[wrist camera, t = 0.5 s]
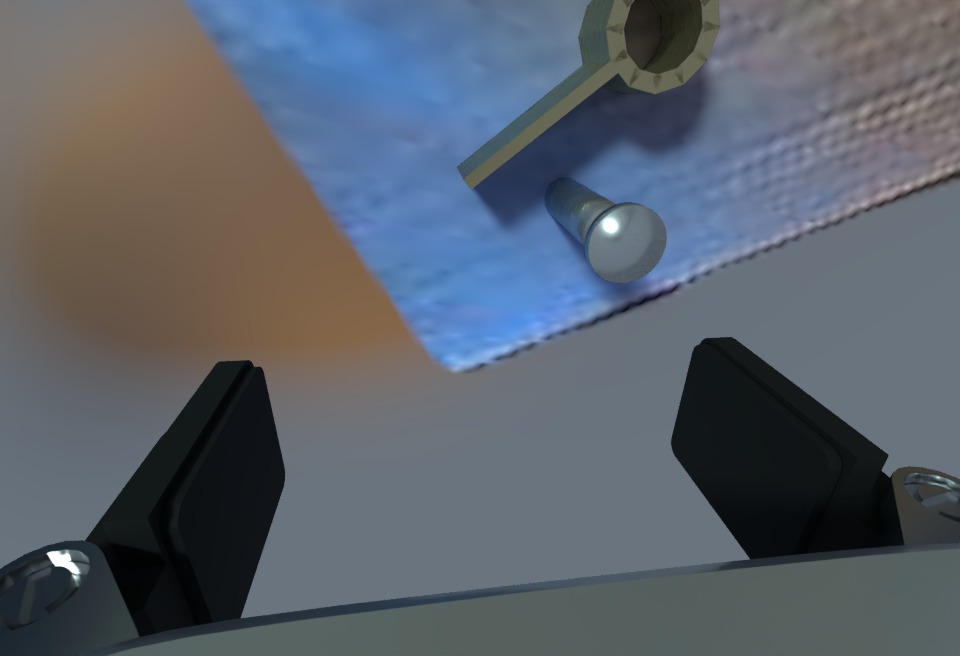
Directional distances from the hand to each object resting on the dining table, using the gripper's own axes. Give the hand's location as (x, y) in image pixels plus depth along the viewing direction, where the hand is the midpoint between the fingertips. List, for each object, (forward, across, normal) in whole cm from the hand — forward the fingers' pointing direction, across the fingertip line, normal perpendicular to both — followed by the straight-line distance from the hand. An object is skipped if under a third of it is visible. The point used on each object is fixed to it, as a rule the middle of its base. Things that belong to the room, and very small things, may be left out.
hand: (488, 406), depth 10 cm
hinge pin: (+27, -10, +1) cm, 28 cm away
